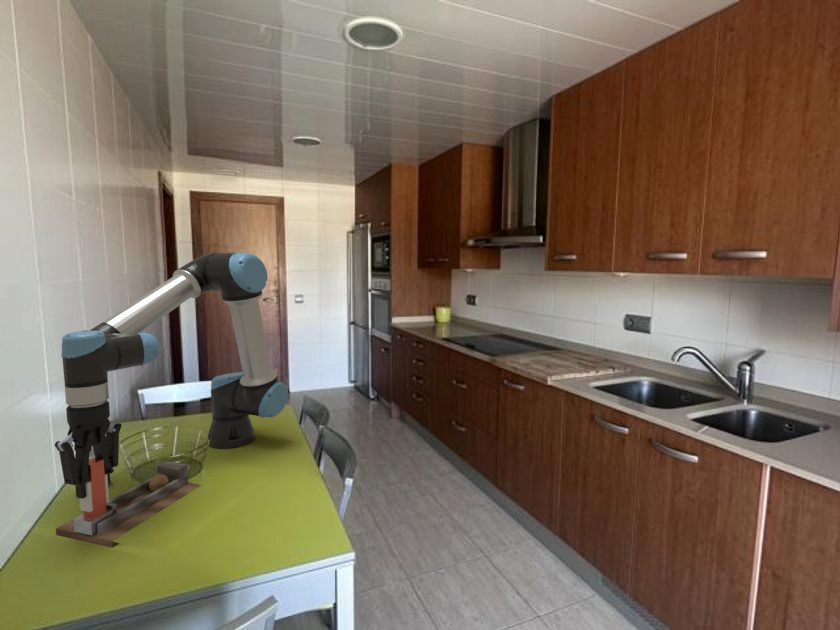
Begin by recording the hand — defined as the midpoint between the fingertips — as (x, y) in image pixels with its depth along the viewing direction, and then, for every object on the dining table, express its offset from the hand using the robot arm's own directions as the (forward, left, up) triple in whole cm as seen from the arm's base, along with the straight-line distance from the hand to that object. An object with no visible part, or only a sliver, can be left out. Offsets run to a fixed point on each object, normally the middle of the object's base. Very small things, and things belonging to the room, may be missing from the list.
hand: (94, 505), depth 100 cm
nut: (-17, 0, -5) cm, 18 cm away
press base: (-10, 0, -7) cm, 12 cm away
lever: (0, 0, -5) cm, 5 cm away
